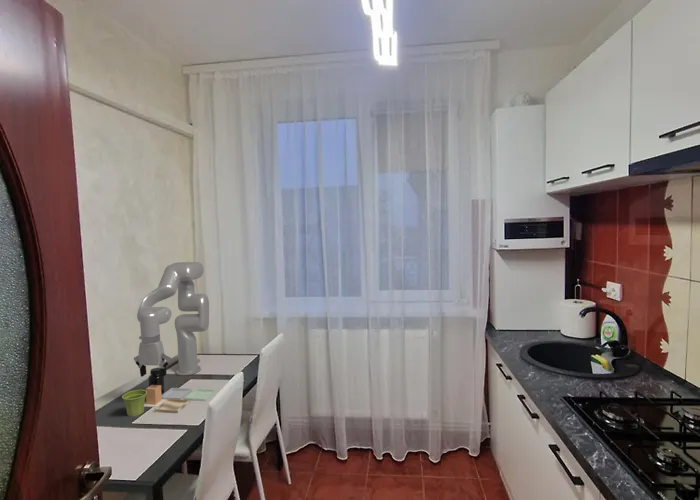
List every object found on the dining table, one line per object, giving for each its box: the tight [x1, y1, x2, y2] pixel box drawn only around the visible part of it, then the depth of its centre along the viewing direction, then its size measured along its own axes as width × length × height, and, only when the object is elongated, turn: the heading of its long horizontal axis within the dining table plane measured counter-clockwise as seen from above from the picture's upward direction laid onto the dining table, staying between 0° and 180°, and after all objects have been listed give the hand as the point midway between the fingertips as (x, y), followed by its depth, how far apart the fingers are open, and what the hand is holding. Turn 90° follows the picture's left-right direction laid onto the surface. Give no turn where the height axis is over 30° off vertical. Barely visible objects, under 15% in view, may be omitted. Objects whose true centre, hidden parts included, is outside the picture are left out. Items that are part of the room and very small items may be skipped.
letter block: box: [145, 385, 163, 405], centre depth 183 cm, size 4×5×7 cm
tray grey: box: [161, 387, 193, 400], centre depth 191 cm, size 11×11×2 cm
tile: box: [144, 399, 166, 408], centre depth 183 cm, size 8×8×1 cm
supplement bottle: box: [147, 367, 166, 395], centre depth 194 cm, size 7×7×12 cm
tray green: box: [182, 388, 217, 402], centre depth 190 cm, size 11×11×2 cm
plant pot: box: [121, 389, 147, 417], centre depth 173 cm, size 9×9×9 cm
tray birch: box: [153, 399, 191, 414], centre depth 179 cm, size 11×11×2 cm
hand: (153, 375), depth 183 cm, fingers open, 9 cm apart
